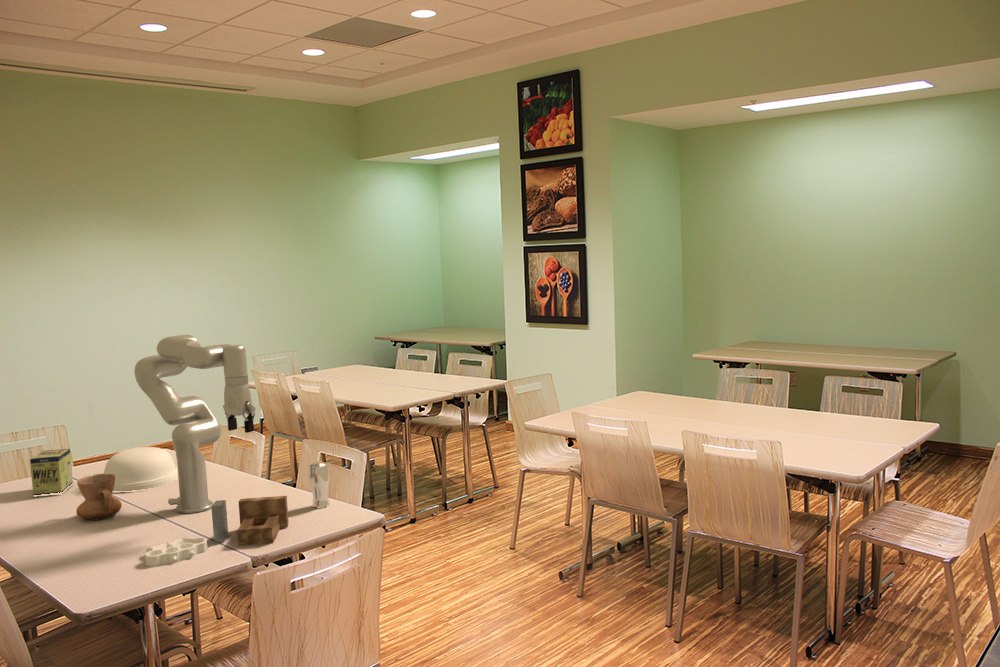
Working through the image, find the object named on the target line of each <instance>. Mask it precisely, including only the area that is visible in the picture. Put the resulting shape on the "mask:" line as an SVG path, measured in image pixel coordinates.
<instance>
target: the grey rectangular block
mask: <svg viewBox="0 0 1000 667" xmlns="http://www.w3.org/2000/svg"><path fill="white" fill-rule="evenodd" d="M210 509H211V518H212V531H213V534H212V535H213V544H224V543H225V542H226V540H227V539H228V537H229V526H228V525H229V524H228V511H227V500H226V499H221V500H220V499H219V500H215V501H214V502H213V505H212V506H211V508H210Z"/></svg>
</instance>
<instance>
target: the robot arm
mask: <svg viewBox="0 0 1000 667" xmlns="http://www.w3.org/2000/svg"><path fill="white" fill-rule="evenodd" d="M156 352H157V355H156V354H155V355H149V356H146V357H143V358H141V359H139V360H138V361H137V362H136V364H135V366H134V376H135V381H136V383H137V386H139V388H140V389H141V390H142V391H143V393H144V394H145V395H146V396H147V398H149V399H150V401H151V402H152V404H153V406H154V407H155V409H156V410H157V412H158V413H159V416H161V418H162V420H164V422H165V423H166V424H167V425H169V426H175V427H174V429H173V430H172V432H171V440H172V445H173V448H174V451H175V457H176V466H177V468H178V490H179V492H178V493H179V497H177V498H174V497H173V498H172V497H171V498H168V500H167V502H168V505H170V506H175V505H176V508H175V511H176V512H177V513H180V514H193V513H194V514H195V513H200V512H204V511H208V510H210V509H212V508H211V506H212V505H213V504H214V501H212V500H209V491H208V479H207V478H208V476H207V467H206V466H207V465H206V459H205V458H206V457H205V455H204V454H203V452H201V450H200V448H199V447H202V446H206V445H210V444H213V443H216V442H217V441H219V439H220V438H221V435H222V429H221V425H220V423H219V421H218V419H217V417H215V415H214V414H213V412H212V410H211V409H210V407H209V406H208V405H207V404H206V402H205V401H204V400H203V399H202V398H201V397H200V396H196V395H189V396H183V397H181V396H179V395H178V393H177V392H176V391H175V389H174V388H173V387H172V385H170V384H168V383H167V382H165V381H164V380H162V378H168V377H172V376H173V377H174V376H178V375H181V374H182V373H184V372H185V370H186V369H187V368H191V369H192V368H193V369H199V370H207V369H213V368H219V367H220V368H221V367H223V374H224V390H223V402H224V403H223V405H222V408H223V410H224V414H225V416H226V417H225V418H226V420H227V429H228V431H229V432H230V431H235V430H237V429H238V421H237V416H238V417H239V416H242V417H243V418H244V421H243V423H244V424H243V426H244V432H245V433H247V434H248V433H253V432H255V427H254V426H255V425H254V420H255V416H256V415H255V413H256V407H255V406H254V405H253V402H252V396H251V390H250V386H249V375H248V363H247V354H246V352H247V351H246V348H245V346H244V345H242V344H229V343H228V344H227V343H223V344H215V345H208V346H202V345H201V343H200V342H199V341H198V340H197V338H196V337H195V336H193V335H191V334H181V335H173V336H167V337H164V338H162V339H161V340H159V341H158V343H157V345H156Z"/></svg>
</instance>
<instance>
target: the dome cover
mask: <svg viewBox="0 0 1000 667" xmlns="http://www.w3.org/2000/svg"><path fill="white" fill-rule="evenodd" d="M103 471H104V472H103V473H110V474H114V475H115V484H114V488H113V491H132V490H141V489H148V488H154V487H158V486H162V485H165V484H168V483H171V482H173V481H175V480H177V479H178V468H177V465H175V462H174V459H173V456H172V455H171V454H170V453H169V452H168V451H167V450H165V449H163V448H160V447H155V446H141V447H134V448H133V447H132V448H129V449H125V450H122V451H120V452H116V453H115V454H114V455H112V456H111V457H110V458H109V459H108V460H107V462H106V463H105V467H104V470H103Z"/></svg>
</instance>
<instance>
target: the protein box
mask: <svg viewBox="0 0 1000 667" xmlns="http://www.w3.org/2000/svg"><path fill="white" fill-rule="evenodd" d="M71 456H72V455H71V449H70V448H62V449H51V450H50V449H49V450H42V451H40V452H39V453H37V454H36V455H34V456H33V457H31V458H30V459H29V463H30V475H31V485H32V486H31V487H32V495H41V494H50V493H58V492H59V493H60V492H63V491H64V490H65V489H66V488H67V487H68V486H70V485H71V484H72V483H73V484H74V480H73V469H72V457H71Z"/></svg>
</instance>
